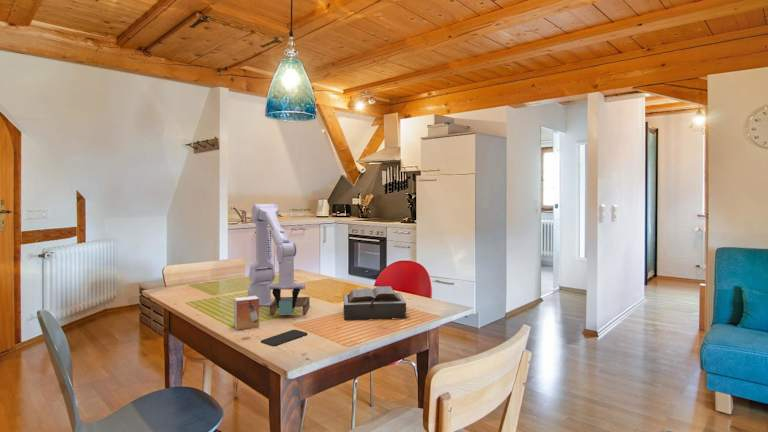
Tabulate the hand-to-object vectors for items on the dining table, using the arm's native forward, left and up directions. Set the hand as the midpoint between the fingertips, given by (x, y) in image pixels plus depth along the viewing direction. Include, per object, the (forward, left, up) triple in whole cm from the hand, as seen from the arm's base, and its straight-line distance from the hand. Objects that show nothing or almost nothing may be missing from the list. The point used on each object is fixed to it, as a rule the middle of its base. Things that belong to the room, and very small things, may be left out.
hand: (286, 307), depth 170 cm
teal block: (0, 0, -2) cm, 2 cm away
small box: (-12, -13, -4) cm, 18 cm away
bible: (+34, +4, -4) cm, 35 cm away
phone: (+4, -26, -4) cm, 26 cm away
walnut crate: (0, +9, -3) cm, 10 cm away
